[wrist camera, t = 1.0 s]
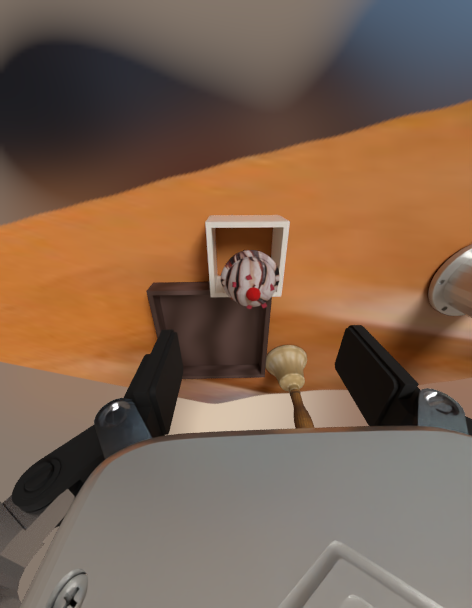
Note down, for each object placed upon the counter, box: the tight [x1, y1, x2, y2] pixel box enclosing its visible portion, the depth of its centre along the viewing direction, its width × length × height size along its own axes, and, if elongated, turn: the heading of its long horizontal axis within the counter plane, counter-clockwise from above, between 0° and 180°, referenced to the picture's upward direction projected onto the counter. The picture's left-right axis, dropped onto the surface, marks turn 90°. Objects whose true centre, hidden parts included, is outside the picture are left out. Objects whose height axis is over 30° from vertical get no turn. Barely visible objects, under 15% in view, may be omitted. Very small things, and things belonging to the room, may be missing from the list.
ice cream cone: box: [221, 250, 280, 309], centre depth 24 cm, size 6×6×15 cm
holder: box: [205, 215, 290, 297], centre depth 28 cm, size 9×9×6 cm
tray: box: [147, 282, 272, 379], centre depth 36 cm, size 18×18×3 cm
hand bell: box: [265, 345, 314, 429], centre depth 34 cm, size 8×8×16 cm
